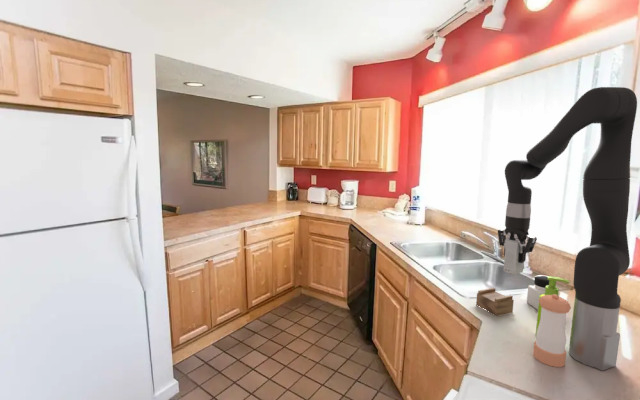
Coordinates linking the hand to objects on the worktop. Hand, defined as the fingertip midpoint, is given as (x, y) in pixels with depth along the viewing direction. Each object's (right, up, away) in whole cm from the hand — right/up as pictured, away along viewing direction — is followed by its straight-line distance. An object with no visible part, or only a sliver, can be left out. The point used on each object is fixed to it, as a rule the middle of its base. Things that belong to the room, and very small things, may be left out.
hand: (514, 260), depth 112 cm
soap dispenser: (+1, -22, -16) cm, 27 cm away
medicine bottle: (+14, -19, +5) cm, 24 cm away
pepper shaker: (-7, -23, -26) cm, 36 cm away
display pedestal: (-6, -19, +3) cm, 20 cm away
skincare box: (0, -5, +1) cm, 5 cm away
